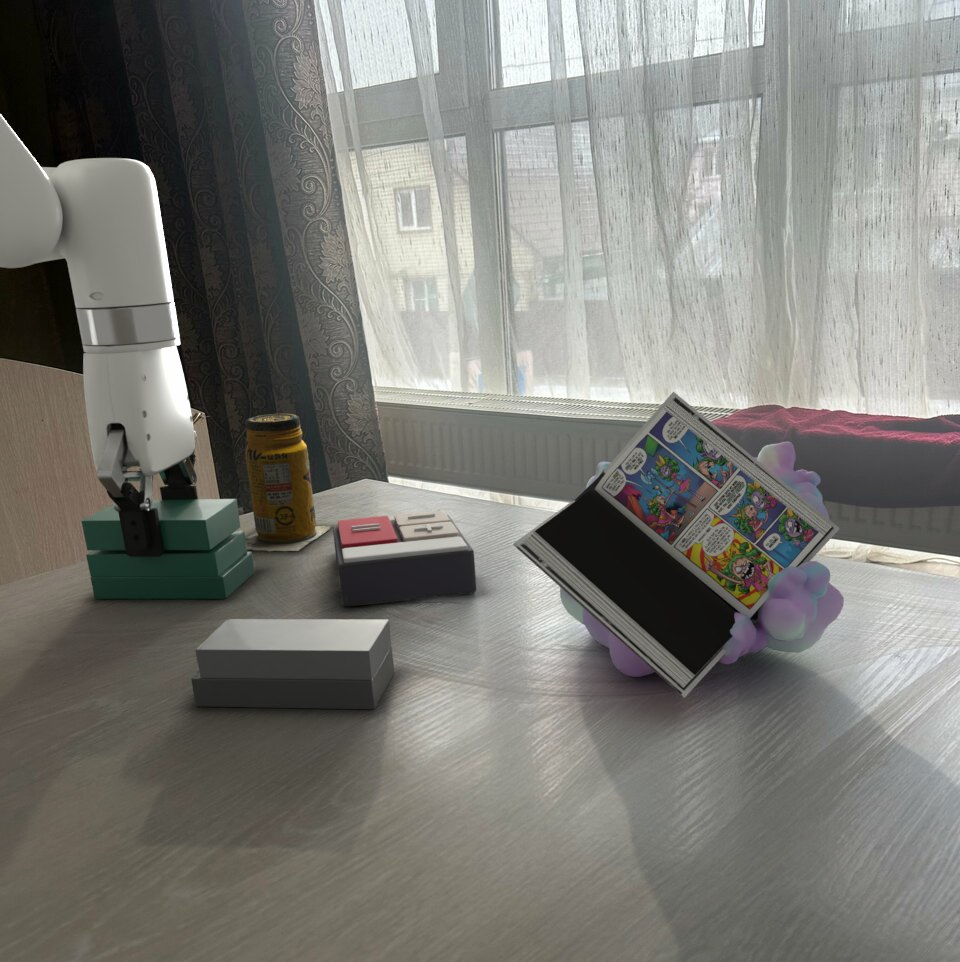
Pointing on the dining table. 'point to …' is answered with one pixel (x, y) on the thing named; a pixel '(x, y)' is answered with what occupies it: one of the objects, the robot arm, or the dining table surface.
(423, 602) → the dining table surface
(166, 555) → the green books
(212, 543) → the slim green book
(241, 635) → the grey books
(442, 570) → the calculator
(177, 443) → the robot arm
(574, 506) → the comic strip frame
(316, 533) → the condiment
